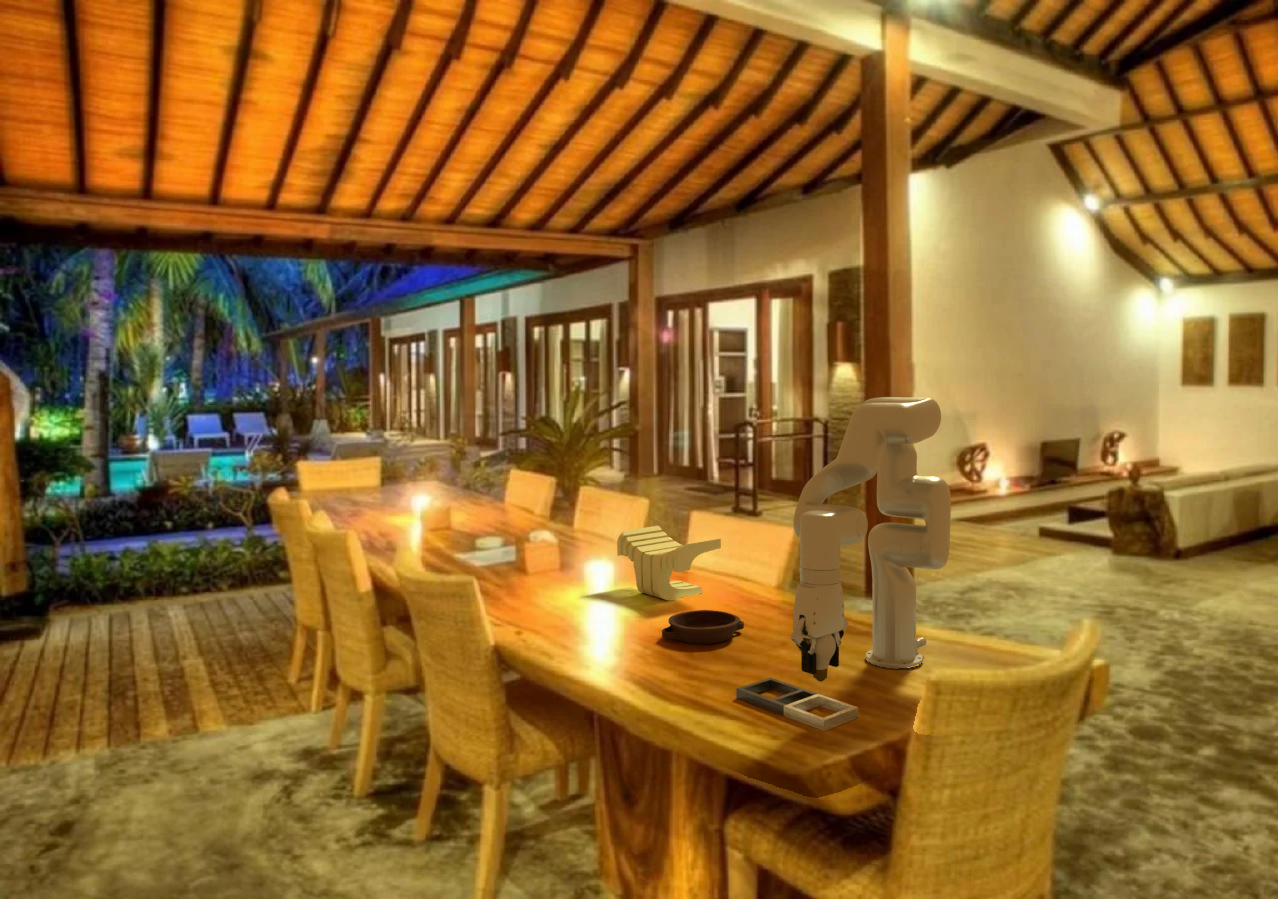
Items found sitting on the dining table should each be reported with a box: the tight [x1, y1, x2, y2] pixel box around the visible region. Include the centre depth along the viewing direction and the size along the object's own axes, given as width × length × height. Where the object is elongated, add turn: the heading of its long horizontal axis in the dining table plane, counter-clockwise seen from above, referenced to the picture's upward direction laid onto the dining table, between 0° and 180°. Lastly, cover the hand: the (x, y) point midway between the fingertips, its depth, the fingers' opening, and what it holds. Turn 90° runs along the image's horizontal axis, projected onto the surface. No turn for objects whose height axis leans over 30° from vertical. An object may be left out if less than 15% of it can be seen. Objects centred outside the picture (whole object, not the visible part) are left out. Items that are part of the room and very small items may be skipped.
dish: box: [661, 609, 745, 645], centre depth 231 cm, size 18×22×5 cm
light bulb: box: [807, 633, 836, 683], centre depth 176 cm, size 6×6×10 cm
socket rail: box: [735, 677, 859, 732], centre depth 182 cm, size 10×23×2 cm, turn 38°
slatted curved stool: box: [616, 525, 722, 601], centre depth 275 cm, size 30×16×18 cm, turn 36°
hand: (820, 668), depth 176 cm, fingers closed on light bulb, 5 cm apart
